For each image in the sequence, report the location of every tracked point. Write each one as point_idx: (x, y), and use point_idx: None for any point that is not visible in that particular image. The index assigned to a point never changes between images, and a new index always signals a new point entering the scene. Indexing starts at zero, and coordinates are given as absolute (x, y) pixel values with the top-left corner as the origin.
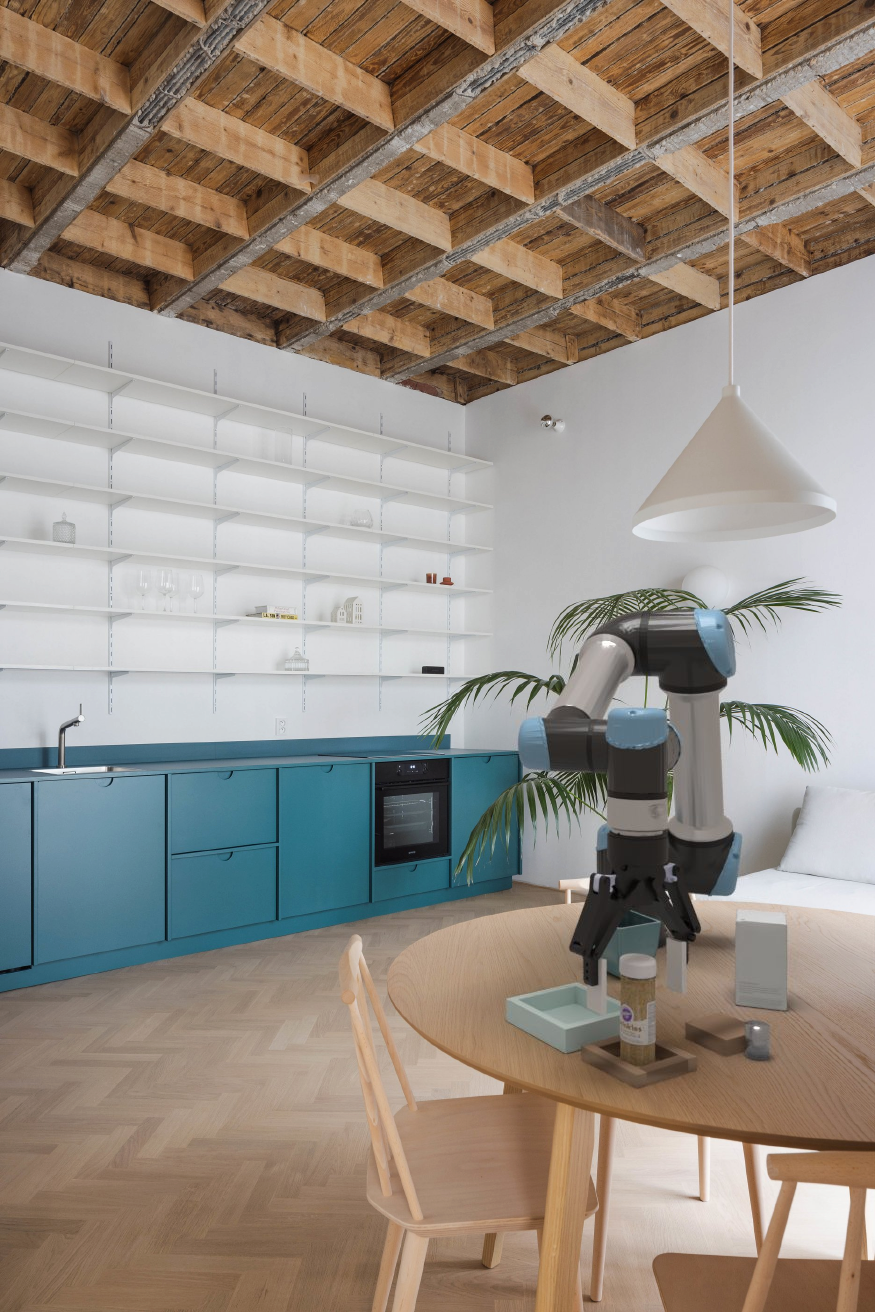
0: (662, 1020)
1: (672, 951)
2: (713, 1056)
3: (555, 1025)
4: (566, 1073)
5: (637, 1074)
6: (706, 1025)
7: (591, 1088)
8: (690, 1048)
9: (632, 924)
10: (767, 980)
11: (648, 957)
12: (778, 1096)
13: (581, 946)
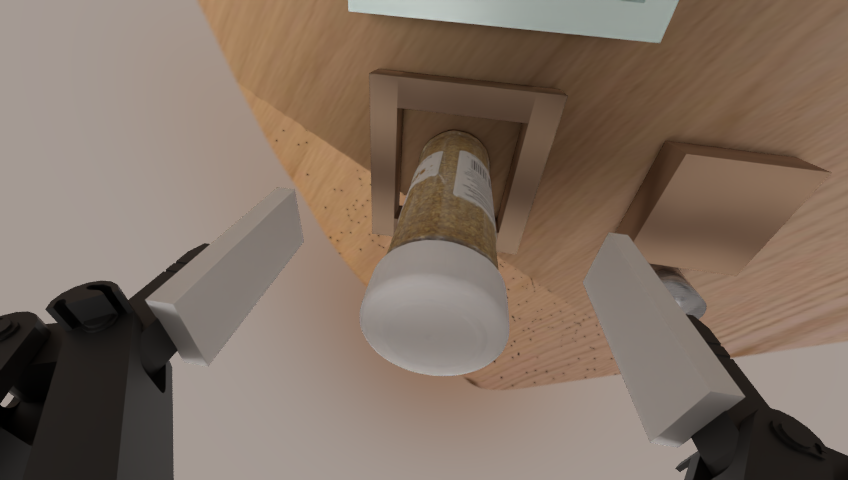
0: (784, 10)
1: (654, 361)
2: (598, 226)
3: None
4: (313, 97)
5: (374, 232)
6: (693, 197)
7: (321, 169)
8: (610, 180)
9: None
10: None
11: (472, 356)
12: (521, 329)
13: (10, 403)
